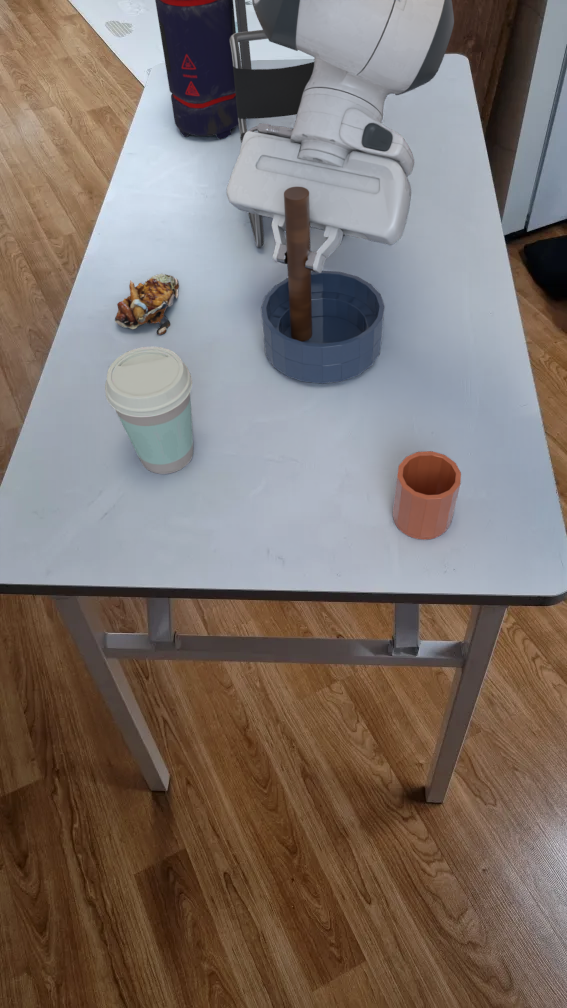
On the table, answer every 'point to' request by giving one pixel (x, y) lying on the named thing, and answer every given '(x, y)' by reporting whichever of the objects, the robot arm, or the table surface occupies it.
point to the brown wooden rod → (298, 261)
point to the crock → (426, 494)
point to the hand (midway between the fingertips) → (296, 266)
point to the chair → (265, 97)
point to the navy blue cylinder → (202, 62)
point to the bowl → (326, 329)
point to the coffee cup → (154, 406)
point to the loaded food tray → (148, 303)
